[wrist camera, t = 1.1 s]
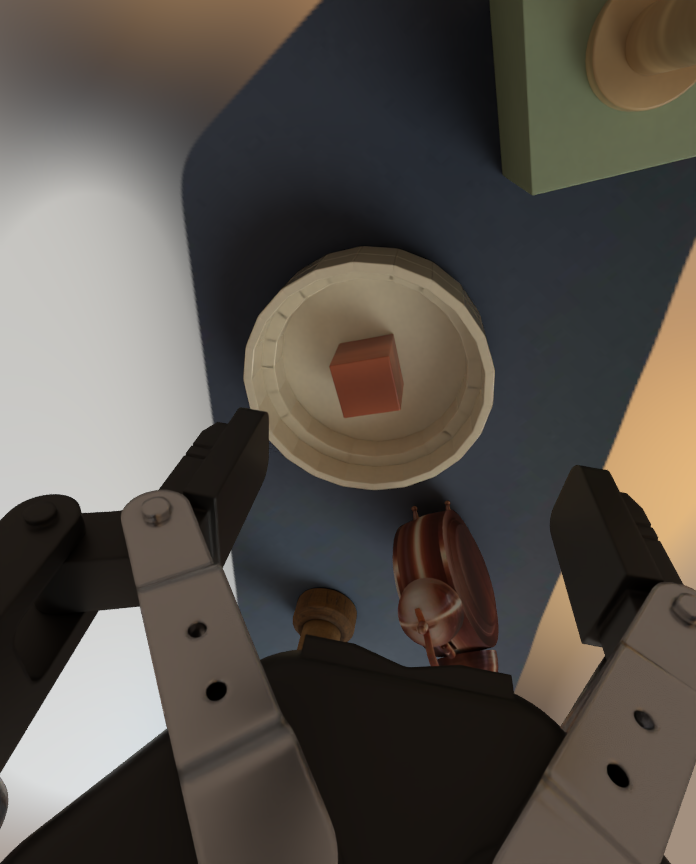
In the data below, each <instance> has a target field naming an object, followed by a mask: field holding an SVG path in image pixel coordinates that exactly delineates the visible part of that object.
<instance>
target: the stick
mask: <svg viewBox="0 0 696 864" xmlns="http://www.w3.org/2000/svg"><path fill="white" fill-rule="evenodd" d="M585 63H586V73H587V78H588V81H589V84H590V86H591V88H592V90H593V92H594V94H595V95H596V96H597V98H598V99H599V100H600V101H601V102H602V103H604V104H605V105H607V106H608V107H611V108H613V109H615V110H619V111H626V112H634V111H646V110H651V109H655V108H658V107H661V106H663V105H665V104H667V103H669V102H671V101H673V100H674V99H676V98H678V97H679V96H680V95H682V94H683V93H684V92H686V91H687V90H688V89H689V88H690V87H691V86H692V85H693V84H694V83H695V82H696V0H607V2H606V3H605V4H604V6H603V8H602V9H601V11H600V12H599V14H598V16H597V18H596V20H595V22H594V24H593V27H592V29H591V32H590V35H589V39H588V43H587V49H586V60H585Z"/></svg>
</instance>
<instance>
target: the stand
mask: <svg viewBox="0 0 696 864" xmlns="http://www.w3.org/2000/svg"><path fill="white" fill-rule="evenodd" d="M606 2H607V0H490V2H489V3H490V16H491V29H492V42H493V55H494V68H495V82H496V95H497V108H498V121H499V134H500V147H501V161H502V174H503V176H504V177H506V178H507V179H509V180H510V181H512V182H513V183H515V184H516V185H518V186H519V187H521V188H522V189H524V190H525V191H527V192H528V193H530V194H531V195H536V194H541V193H545V192H549V191H553V190H557V189H562V188H566V187H570V186H574V185H578V184H582V183H587V182H591V181H595V180H599V179H603V178H608V177H612V176H616V175H620V174H624V173H629V172H633V171H637V170H641V169H645V168H649V167H654V166H658V165H662V164H666V163H670V162H675V161H679V160H683V159H687V158H691V157H696V82H695V83H694V84H693V85H692V86H691V87H690V88H689V89H688V90H687V91H686V92H684V93H683V94H682V95H680V96H679V97H678V98H676V99H674V100H673V101H671V102H669V103H667V104H665V105H663V106H661V107H658V108H655V109H651V110H646V111H634V112H626V111H619V110H615V109H613V108H611V107H608V106H607V105H605V104H604V103H602V102H601V101H600V100H599V99H598V98H597V96H596V95H595V94H594V92H593V90H592V88H591V86H590V84H589V81H588V78H587V73H586V63H585V60H586V49H587V43H588V39H589V35H590V32H591V29H592V27H593V24H594V22H595V20H596V18H597V16H598V14H599V12H600V11H601V9H602V8H603V6H604V4H605V3H606Z"/></svg>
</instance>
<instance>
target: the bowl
mask: <svg viewBox="0 0 696 864" xmlns="http://www.w3.org/2000/svg"><path fill="white" fill-rule="evenodd" d="M389 334H393V335H394V338H395V343H396V348H397V353H398V358H399V363H400V367H401V372H402V377H403V382H404V386H403V395H402V404H401V410H399V411H392V412H385V413H378V414H371V415H364V416H357V417H350V418H344V417H343V413H342V410H341V406H340V403H339V399H338V396H337V392H336V389H335V385H334V382H333V378H332V375H331V371H330V368H329V366H330V363H331V361H332V359H333V356H334V354H335V352H336V350H337V347H338V345H339V344H340V343H345V342H350V341H356V340H361V339H367V338H372V337H378V336H383V335H389ZM494 378H495V369H494V365H493V361H492V357H491V353H490V350H489V346H488V342H487V338H486V334H485V331H484V327H483V323H482V320H481V316H480V314H479V311H478V310H477V308H476V307H475V305H474V304H473V302H472V301H471V299H470V298H469V296H468V295H467V293H466V292H465V290H464V289H463V287H462V286H461V285H460V283H458V282H457V281H456V280H455V279H453V278H452V277H451V276H450V275H448V274H447V273H446V272H445V271H443V270H442V269H441V268H440V267H438V266H437V265H436V264H435V263H433V262H432V261H429V260H427V259H424V258H421V257H419V256H416V255H414V254H411V253H409V252H406V251H404V250H401V249H397V248H384V247H370V246H362V247H361V246H360V247H355V248H351V249H347V250H343V251H338V252H334V253H330V254H328V255H325V256H323V257H322V258H320V259H318V260H317V261H315V262H313V263H312V264H310V265H308V266H306V267H305V268H303V269H301V270H300V271H299V272H297V273H296V274H295V275H294V276H293V277H292V279H291V280H290V281H289V282H288V283H287V284H286V285H285V286H284V287H283V288H282V289H281V290H280V291H279V292H278V294H277V295H276V296H275V297H274V298H273V299H272V301H271V302H270V303H269V304H268V305H267V306H266V307H265V309H264V310H263V311H262V312H261V313H260V314H259V316H258V318H257V320H256V322H255V325H254V327H253V330H252V332H251V335H250V337H249V340H248V342H247V344H246V349H245V363H244V383H245V388H246V392H247V396H248V400H249V405H250V409H254V410H260V411H265V412H268V414H269V440H270V441H271V442H272V443H273V444H274V446H275V447H276V448H277V449H278V450H279V451H280V452H281V453H282V454H283V455H284V456H285V457H286V458H288V460H290V461H292V462H293V463H295V464H296V465H298V466H299V467H301V468H302V469H304V470H305V471H307V472H309V473H310V474H312V475H314V476H316V477H319V478H321V479H324V480H327V481H330V482H332V483H335V484H338V485H341V486H344V487H352V488H360V489H368V490H381V489H391V488H401V487H407V486H409V485H412V484H415V483H418V482H421V481H424V480H427V479H429V478H432V477H434V476H436V475H438V474H439V473H441V472H442V471H444V470H445V469H447V468H448V467H450V466H451V465H452V464H454V463H455V462H457V461H458V460H460V459H461V458H462V456H463V455H464V454H465V453H466V452H467V450H468V449H469V448H470V447H471V446H472V444H473V443H474V442H475V441H476V440H477V438H478V437H479V436H480V434H481V433H482V430H483V428H484V425H485V423H486V420H487V418H488V415H489V413H490V410H491V408H492V404H493V394H494Z"/></svg>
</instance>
